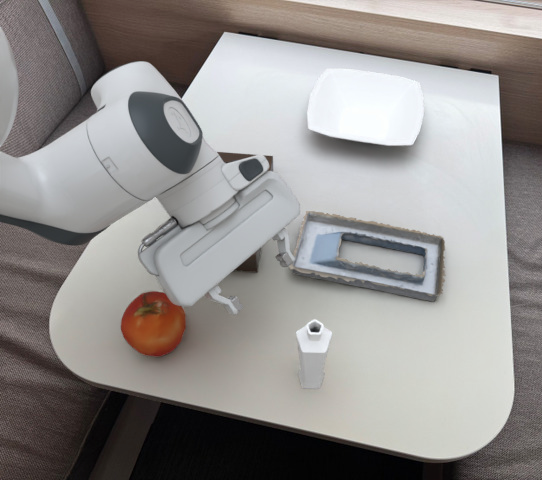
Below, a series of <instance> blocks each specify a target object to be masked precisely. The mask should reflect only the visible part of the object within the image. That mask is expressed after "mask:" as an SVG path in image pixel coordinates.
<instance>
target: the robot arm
mask: <svg viewBox="0 0 542 480" xmlns="http://www.w3.org/2000/svg"><path fill="white" fill-rule="evenodd" d="M15 57H16V56H15V54H14V51H13V48H12V46H11V44H10V41H9V39H8V37H7V35H6V34H5V31H4V30H3V28H2V27H1V25H0V148H2V146H4V143H5V142H6V140H7V139H8V137H9V135H10V133H11V131H12V129H13V126H14V124H15V119H16V117H17V112H18V107H19V99H20V82H19V81H20V80H19V71H18V65H17V61H16V58H15ZM90 94H91V95H90V96H91V99H92V101H93V103H94V105H95V107H96V112H95V113H93V114H92V115H90V116H89V117H88V118H87V119H85V120H84V121H82V122H81V123H79V124H78V125H77V126H75V127H73V128H71V129H70V130H69V131H67V132H66V133H64V134H62V135H61V136H60V137H57V138H56V139H55V140H53V141H52V142H50V143H49V144H47V145H45V146H43V147H42V148H40V149H38V150H36V151H33V152H31V153H29V154H26V155H23V156H18V157H14V156H13V155H10V154H9V153H5V152H3V151H2V150H0V223H2V224H7V225H11V226H15V227H18V228H21V229H24V230H27V231H29V232H31V233H33V234H35V235H36V236H38V237H40V238H42V239H45V240H47V241H50V242H52V243H56V244H60V245H65V246H73V247H75V246H76V247H77V246H83V245H85V244H87V243H89V242H90V241H92V240H93V239H95V238H96V237H97V236H98V235H100V234H101V233H102V232H104V231H105V230H107V229H108V228H109V227H110V226H112V225H113V224H114V223H116V222H117V221H120V220H121V219H123V218H124V217H126V216H127V215H129V214H130V213H132V212H134V211H135V210H137V209H139V208H140V207H142V206H144V205H145V204H147V203H148V202H150V201H152V200H153V199H155V198H156V199H157V201H158V203H159V204H160V205H161V207H162V208H163V209H164V210H165V212H166V213H167V215H168V216H169V217H170V218H168V219H167V220H165V221H164V222H163V223H162V224H160V225H159V226H157V228H156V229H155V230H153V231H152V232H150V233H148V234H146V235H145V236H144V237H142V239H141V244H139V246H138V249H137V259H138V261H139V262H140V264H141V265H142V267H143V268H144V269H145V271H146V272H147V273H149V274H150V275H152V276H154V277H155V278H156V280H157V282H158V284H159V287H161V290H162V291H163V293H165V294H166V295H167V297H168V298H169V300H170V301H171V302H172V303H173V304H175V305H178V306H182V307H187V308H188V307H192V306H193V305H194V304H196V303H197V302H198V301H199V300H200V299H202V298H203V297H205V298H206V299H208V300H210V301H212V302H215V303H217V304H220V305H222V306H223V307H224V309H225V310H226V311H227V313H228V314H229V315H231V316H235V315H237V314H238V313H239V312H240V311H241V310H242V309H243V308H244V305H243V303H242V302H240V299H239V297H238V296H237V295H236V296H235V295H234V296H233V295H229V296H228V297H225V296H223V295H220V294H221V293H222V289H221V288H220V286H219V285H218V284H220V283H221V282H222V281H223V280H224V279H225V278H226V277H228V276H229V275H230V274H231V273H232V272H234V271H233V270H235V269H236V268H237V267H238V266H239V265H241V264H242V263H243V262H244V261H245V260H247V259H248V258H249V257H250V256H251V255H253V254H254V253H255V252H256V251H257V250H258V249H260V248H261V247H262V248H263V247H264V245H266V244H267V243H268V242H269V241H270V240H272V241H276V242H277V250H278V253H277V254H276V255H275V259H276V260H277V262H278V263H279V265H280V266H281V267H282V268H284V269H285V268H290V265H291V264H292V263H293V262H294V261H295V258H294V256H293V255H294V254H293V252H292V251H291V243H290V234H289V232H288V230H287V229H286V227H287V226H288V225H290V224H291V223H292V222H293V221H295V219H296V218H298V217H299V216H300V215H301V204H300V201H299V200H298V198H297V196H296V195H295V193H294V192H293V190H292V189H291V188H290V186H289V185H288V183H287V182H286V181H285V179H284V178H283V177H282V176H281V175H280V174H278V173H277V172H276V171H274V170H273V171H267V170H268V169H269V163H268V161H267V159H266V158H265V157H264V156H263V155H264V154H255V155H256V156H252V157H249V158H245V159H241V160H233V161H231V162H229V163H225V162H223V160H222V159H221V157H220V156H219V154H218V153H217V152H218V151H217V150H216V149H214V147H212V146H211V145H210V144H209V142H208V141H206V139H205V137H204V136H203V135H204V134H203V129H202V128H201V126H200V124H199V123H198V121H197V119H196V118H195V116H194V115H193V113H192V112H191V110H190V109H189V107H188V106H187V104H186V103H185V102H184V101H183V99H182V98H181V96H180V95H179V94H178V92H177V91H176V90H175V88H174V87H172V85H171V84H170V83H169V82H168V81H167V79H166V78H165V77H164V76H163V74H161V72H160V71H158V69H157V68H156V67H155V66H154V65H153V64H151V63H150V62H148V61H143V60H142V61H141V60H139V61H137V60H136V61H131V62H127V63H125V64H121V65H118V66H116V67H113V68H112V69H110V70H109V71H107V72H106V73H104V74H102V75H101V76H100V77H99V78H98V79H97V80H96V81H95V82H94V84H93V85H92V87H91V90H90ZM143 248H144V249H143Z"/></svg>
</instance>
